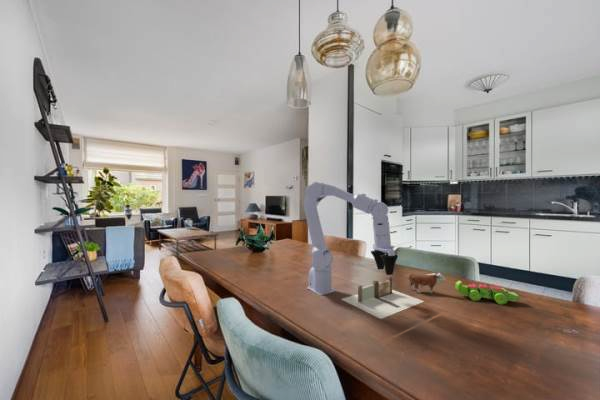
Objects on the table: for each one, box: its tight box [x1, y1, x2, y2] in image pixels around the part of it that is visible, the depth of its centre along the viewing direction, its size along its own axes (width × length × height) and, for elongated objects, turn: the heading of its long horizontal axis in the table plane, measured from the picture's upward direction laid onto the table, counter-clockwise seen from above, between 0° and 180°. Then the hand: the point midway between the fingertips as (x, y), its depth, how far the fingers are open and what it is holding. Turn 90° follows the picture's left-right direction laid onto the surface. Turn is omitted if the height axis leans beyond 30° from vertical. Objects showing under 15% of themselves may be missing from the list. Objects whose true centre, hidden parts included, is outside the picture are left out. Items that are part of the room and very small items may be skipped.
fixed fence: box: [372, 276, 393, 298], centre depth 97 cm, size 10×2×6 cm, turn 123°
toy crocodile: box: [454, 280, 521, 305], centre depth 94 cm, size 20×7×6 cm, turn 68°
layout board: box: [341, 289, 425, 320], centre depth 92 cm, size 18×24×1 cm
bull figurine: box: [408, 272, 447, 294], centre depth 101 cm, size 4×13×8 cm, turn 78°
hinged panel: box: [357, 284, 374, 302], centre depth 92 cm, size 8×1×6 cm, turn 123°
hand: (385, 271), depth 93 cm, fingers open, 7 cm apart
